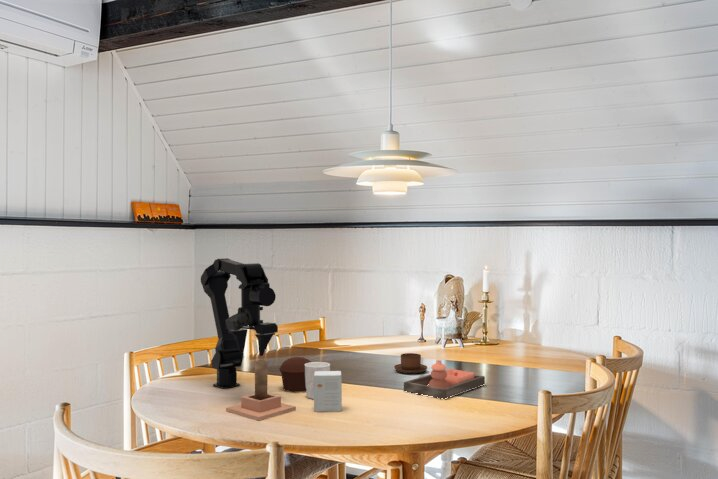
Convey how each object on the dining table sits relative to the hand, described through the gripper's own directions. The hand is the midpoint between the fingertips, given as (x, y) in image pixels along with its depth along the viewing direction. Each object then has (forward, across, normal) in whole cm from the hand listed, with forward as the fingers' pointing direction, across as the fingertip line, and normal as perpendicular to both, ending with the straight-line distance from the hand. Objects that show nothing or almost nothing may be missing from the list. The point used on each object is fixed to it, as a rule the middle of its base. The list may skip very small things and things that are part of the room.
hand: (251, 354), depth 206 cm
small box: (+14, +28, +5) cm, 31 cm away
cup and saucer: (+14, +17, +61) cm, 65 cm away
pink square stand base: (+13, +14, -9) cm, 22 cm away
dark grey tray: (+14, +40, +48) cm, 64 cm away
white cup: (+14, +16, +13) cm, 24 cm away
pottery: (+14, +40, +50) cm, 65 cm away
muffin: (+13, +4, +16) cm, 21 cm away
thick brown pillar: (+12, +14, -9) cm, 21 cm away
